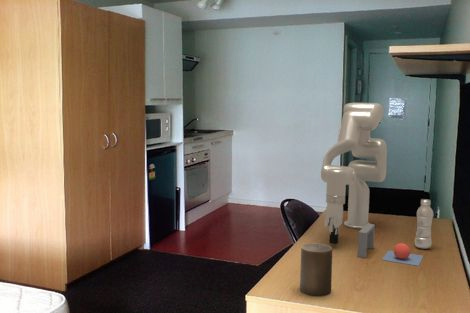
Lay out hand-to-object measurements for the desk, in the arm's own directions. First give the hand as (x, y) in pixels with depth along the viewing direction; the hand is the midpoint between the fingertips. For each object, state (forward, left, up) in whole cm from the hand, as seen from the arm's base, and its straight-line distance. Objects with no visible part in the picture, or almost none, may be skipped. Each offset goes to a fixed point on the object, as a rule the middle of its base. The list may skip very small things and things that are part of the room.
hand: (333, 243), depth 193 cm
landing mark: (0, +27, -2) cm, 27 cm away
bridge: (0, +13, -2) cm, 13 cm away
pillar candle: (+47, +8, -2) cm, 48 cm away
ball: (+1, +27, +2) cm, 27 cm away
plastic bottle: (-18, +32, -2) cm, 37 cm away
